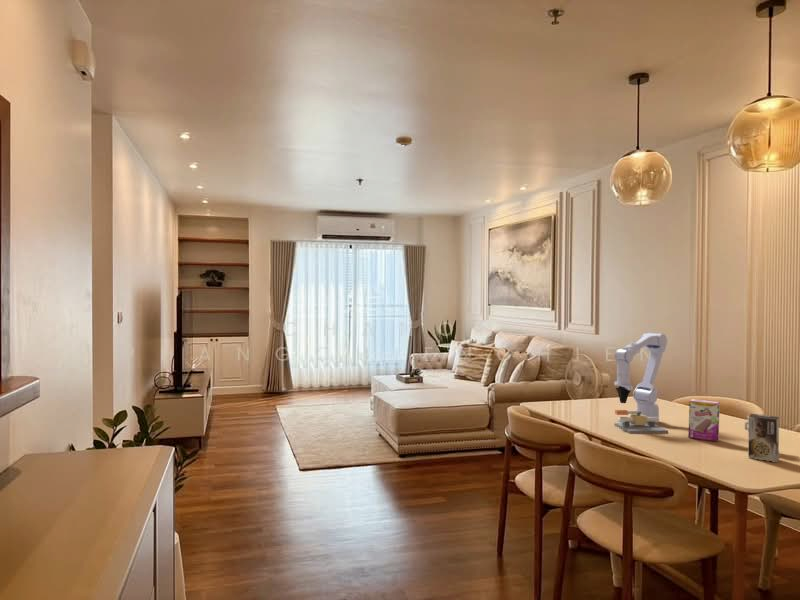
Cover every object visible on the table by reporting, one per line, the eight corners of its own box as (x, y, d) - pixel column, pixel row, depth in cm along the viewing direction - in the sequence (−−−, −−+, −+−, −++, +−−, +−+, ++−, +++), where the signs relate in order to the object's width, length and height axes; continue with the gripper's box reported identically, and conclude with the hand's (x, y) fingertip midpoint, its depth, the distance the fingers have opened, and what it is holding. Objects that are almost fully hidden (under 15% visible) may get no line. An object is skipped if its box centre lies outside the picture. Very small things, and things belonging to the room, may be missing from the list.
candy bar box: (688, 438, 228) (688, 400, 227) (689, 435, 232) (690, 398, 232) (718, 442, 221) (719, 403, 221) (719, 440, 225) (719, 401, 225)
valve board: (651, 425, 250) (651, 412, 250) (668, 433, 236) (668, 418, 236) (614, 425, 249) (614, 412, 249) (629, 433, 235) (629, 418, 235)
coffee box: (779, 459, 198) (779, 416, 198) (776, 463, 193) (777, 419, 193) (750, 454, 204) (751, 413, 204) (747, 458, 199) (748, 415, 199)
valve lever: (639, 413, 246) (639, 409, 246) (642, 414, 243) (642, 411, 243) (614, 413, 245) (614, 409, 245) (617, 414, 242) (617, 411, 242)
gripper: (608, 372, 258) (608, 400, 258) (622, 376, 244) (622, 406, 244) (622, 372, 259) (622, 400, 259) (637, 376, 244) (637, 406, 244)
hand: (623, 402), depth 251 cm, fingers closed
